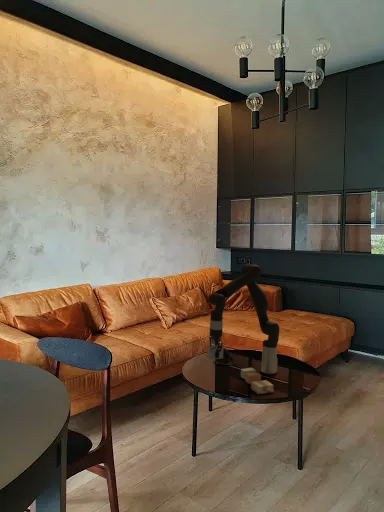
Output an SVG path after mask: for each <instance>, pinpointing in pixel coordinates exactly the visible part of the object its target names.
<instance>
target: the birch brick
mask: <svg viewBox="0 0 384 512" xmlns="http://www.w3.org/2000/svg"><path fill="white" fill-rule="evenodd" d="M274 386H275V385H274V384H272V383H271V382H270V381H268V380H267V379H265V380H264V379H263V380H261V381H254V382H251V384H250V389H251V391H253V392H255V393H256V394H257V395H260V394H261V395H262V394H269V393H274V388H275V387H274Z"/></svg>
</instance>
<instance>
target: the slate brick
mask: <svg viewBox="0 0 384 512" xmlns="http://www.w3.org/2000/svg"><path fill="white" fill-rule="evenodd" d="M223 349H224V348H222V350H221V351H220V352H219V358H215V348H211V347H209V348H207V358H208V359H209V360H215V359H222V358H223Z"/></svg>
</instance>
